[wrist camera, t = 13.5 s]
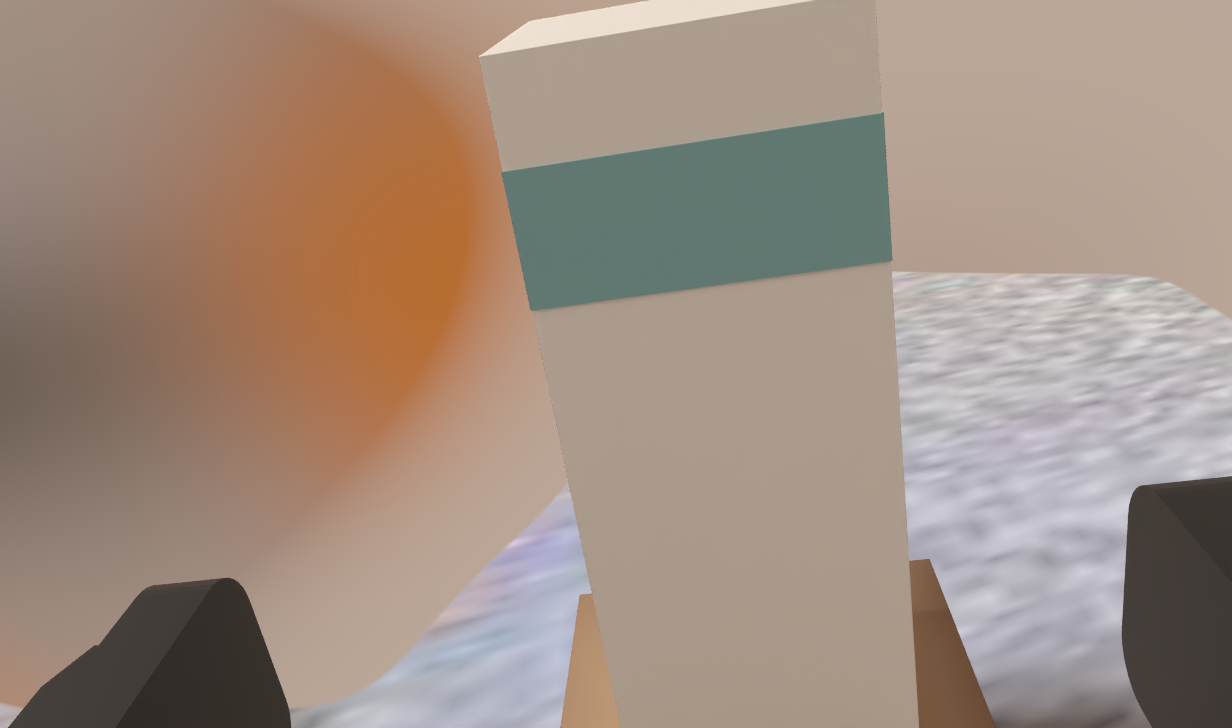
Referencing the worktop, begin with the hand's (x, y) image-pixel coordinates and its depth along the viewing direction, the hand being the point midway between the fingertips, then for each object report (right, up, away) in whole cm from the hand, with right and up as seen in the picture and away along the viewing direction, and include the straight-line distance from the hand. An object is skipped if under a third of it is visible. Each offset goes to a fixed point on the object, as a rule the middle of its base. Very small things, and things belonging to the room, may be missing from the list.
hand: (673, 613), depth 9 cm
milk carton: (+3, -6, +15) cm, 16 cm away
